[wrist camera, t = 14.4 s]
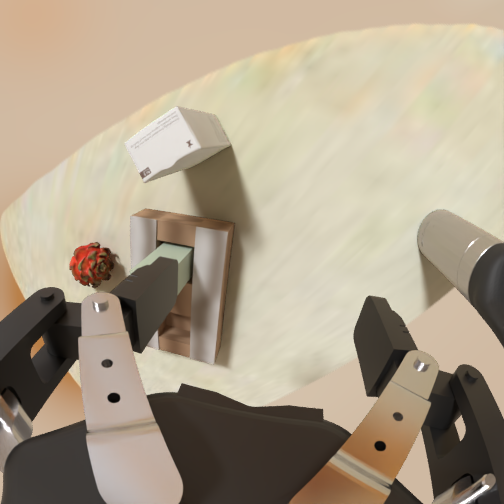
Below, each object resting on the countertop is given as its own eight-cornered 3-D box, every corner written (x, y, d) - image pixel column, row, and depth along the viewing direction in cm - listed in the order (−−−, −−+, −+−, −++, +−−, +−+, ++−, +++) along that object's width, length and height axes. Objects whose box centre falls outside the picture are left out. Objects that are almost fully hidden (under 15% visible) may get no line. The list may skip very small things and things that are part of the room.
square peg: (198, 241, 46) (164, 279, 33) (196, 269, 48) (164, 312, 35) (171, 236, 46) (129, 270, 33) (170, 263, 48) (131, 303, 35)
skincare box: (215, 114, 39) (179, 99, 26) (233, 147, 41) (204, 147, 27) (171, 140, 42) (120, 140, 28) (187, 172, 43) (142, 185, 29)
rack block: (234, 222, 45) (227, 232, 40) (220, 347, 55) (213, 364, 50) (145, 208, 46) (130, 216, 41) (148, 328, 56) (137, 343, 51)
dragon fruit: (127, 246, 51) (96, 264, 56) (93, 224, 45) (67, 246, 50) (119, 285, 47) (88, 298, 52) (81, 265, 40) (56, 281, 45)
